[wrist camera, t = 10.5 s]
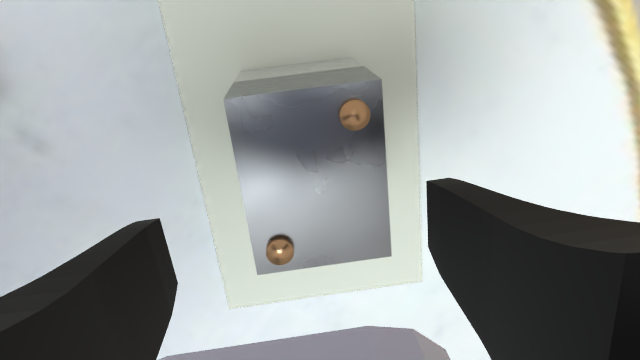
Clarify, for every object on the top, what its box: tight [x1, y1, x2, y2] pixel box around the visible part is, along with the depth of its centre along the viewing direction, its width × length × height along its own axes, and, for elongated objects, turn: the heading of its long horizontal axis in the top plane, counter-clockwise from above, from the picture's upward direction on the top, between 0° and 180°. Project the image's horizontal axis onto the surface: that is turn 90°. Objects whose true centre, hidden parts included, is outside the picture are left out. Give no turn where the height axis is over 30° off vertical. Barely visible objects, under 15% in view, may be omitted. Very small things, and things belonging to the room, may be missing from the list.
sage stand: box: [158, 0, 422, 309], centre depth 20 cm, size 10×18×2 cm, turn 6°
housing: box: [223, 57, 392, 275], centre depth 16 cm, size 5×6×6 cm
